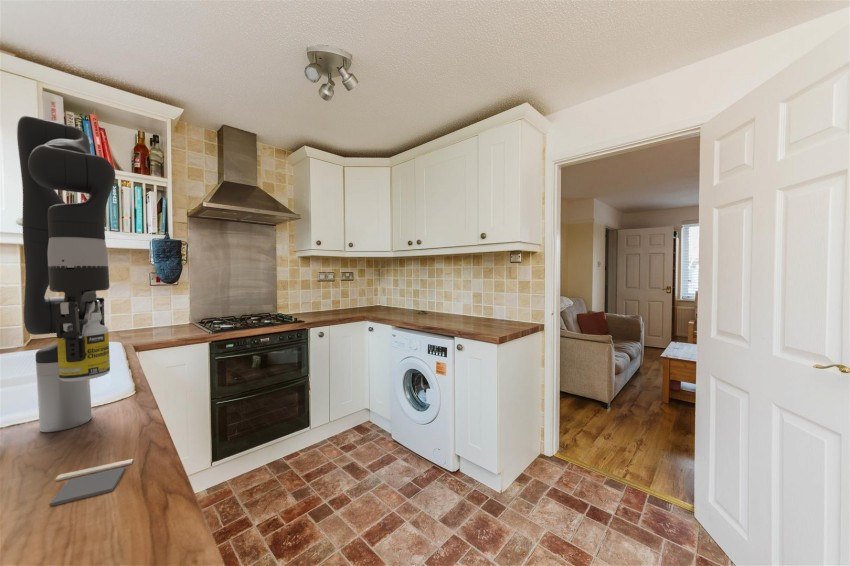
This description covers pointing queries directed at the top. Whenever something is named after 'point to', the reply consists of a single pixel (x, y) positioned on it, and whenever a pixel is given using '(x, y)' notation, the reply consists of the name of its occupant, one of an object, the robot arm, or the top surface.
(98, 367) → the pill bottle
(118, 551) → the top surface
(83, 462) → the top surface
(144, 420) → the top surface
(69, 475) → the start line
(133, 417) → the top surface
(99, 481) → the mat
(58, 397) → the robot arm
